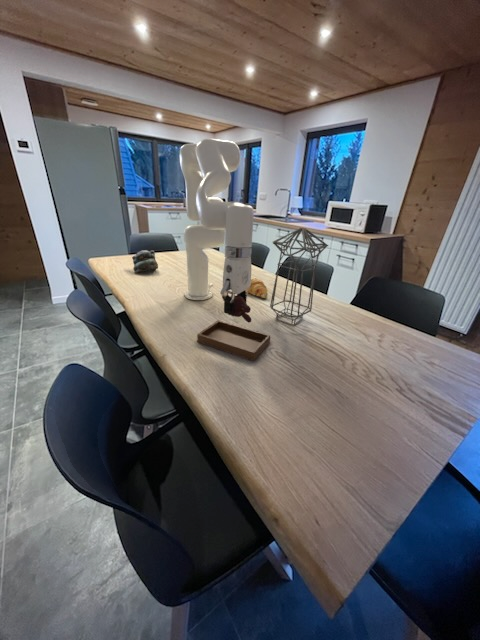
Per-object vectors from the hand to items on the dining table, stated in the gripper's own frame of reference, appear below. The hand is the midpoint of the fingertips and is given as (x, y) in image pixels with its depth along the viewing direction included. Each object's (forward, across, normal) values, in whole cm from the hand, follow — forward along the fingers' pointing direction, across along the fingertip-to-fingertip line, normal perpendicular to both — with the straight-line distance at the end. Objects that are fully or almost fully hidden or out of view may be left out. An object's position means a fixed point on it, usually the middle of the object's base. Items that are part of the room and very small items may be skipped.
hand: (235, 308), depth 82 cm
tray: (+12, 0, 0) cm, 12 cm away
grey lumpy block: (+12, +43, +85) cm, 96 cm away
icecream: (+2, 0, 0) cm, 2 cm away
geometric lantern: (+12, +28, -10) cm, 32 cm away
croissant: (+12, +48, +15) cm, 52 cm away
